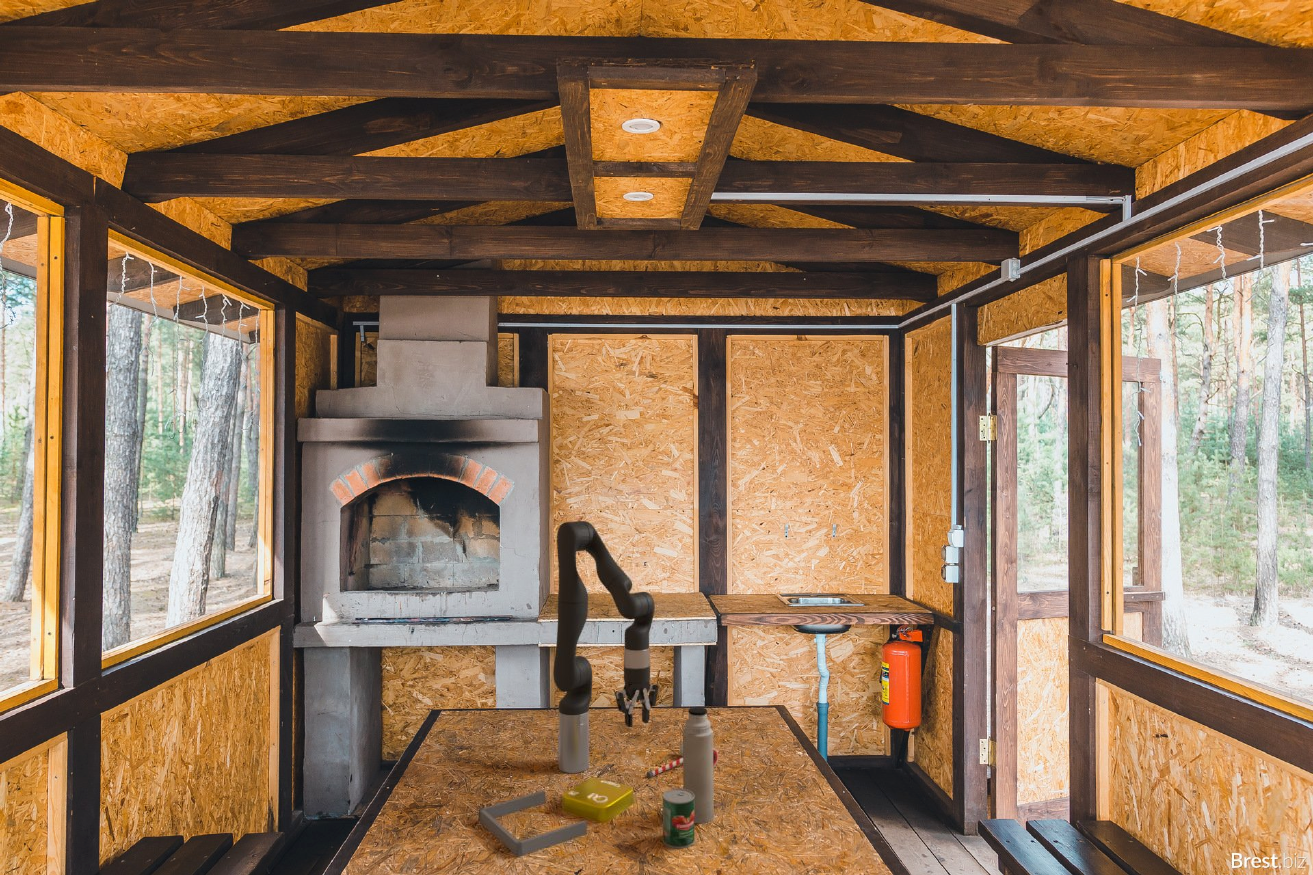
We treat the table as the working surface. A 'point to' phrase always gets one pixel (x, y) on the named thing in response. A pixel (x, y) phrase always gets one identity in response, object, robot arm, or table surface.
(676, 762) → the toy hammer
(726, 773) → the table surface
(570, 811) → the element tile
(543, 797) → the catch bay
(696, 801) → the thermos bottle
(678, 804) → the canned tomato
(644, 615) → the robot arm
